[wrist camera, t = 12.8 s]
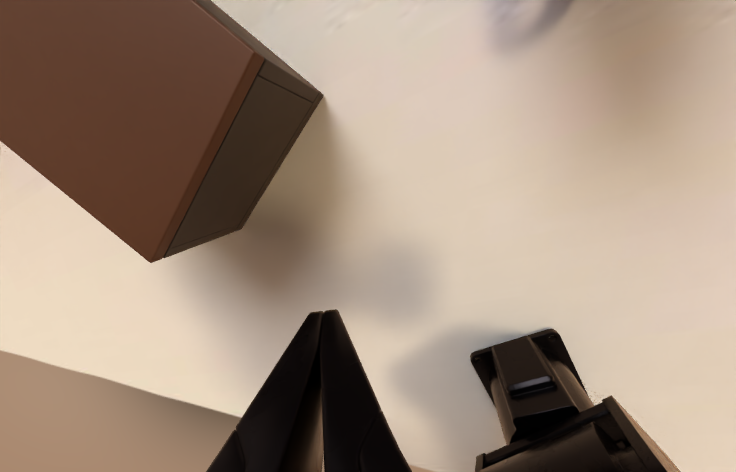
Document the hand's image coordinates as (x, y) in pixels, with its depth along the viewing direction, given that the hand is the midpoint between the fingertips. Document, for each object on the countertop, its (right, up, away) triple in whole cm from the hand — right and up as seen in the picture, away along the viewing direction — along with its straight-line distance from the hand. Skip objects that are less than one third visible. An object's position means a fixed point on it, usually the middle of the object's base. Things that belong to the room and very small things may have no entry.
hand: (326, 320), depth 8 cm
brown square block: (-12, +10, +6) cm, 17 cm away
